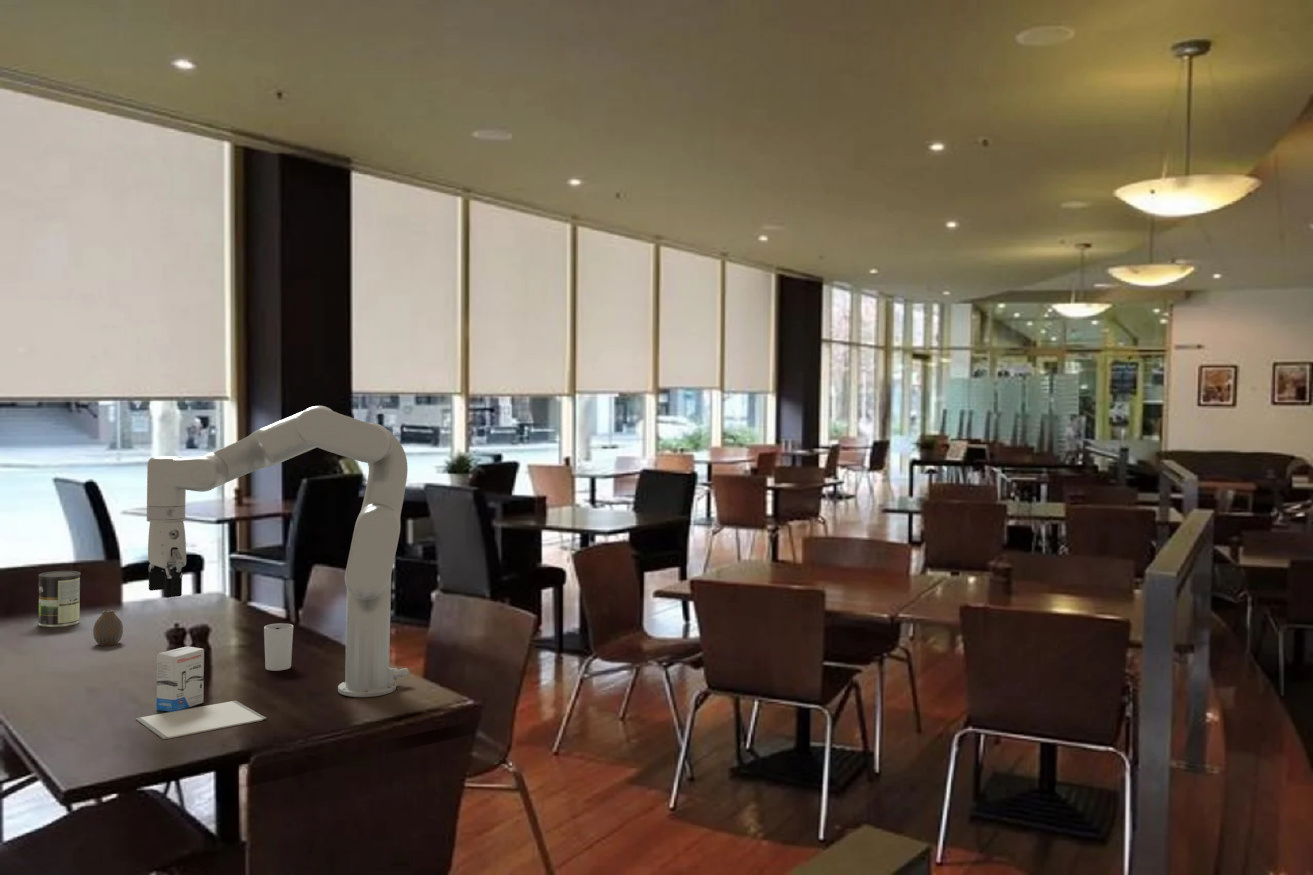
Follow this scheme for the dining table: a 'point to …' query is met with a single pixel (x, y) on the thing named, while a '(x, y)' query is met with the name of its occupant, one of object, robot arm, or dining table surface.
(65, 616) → the coffee can
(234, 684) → the dining table surface
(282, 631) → the white cup
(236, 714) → the mat
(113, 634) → the vase
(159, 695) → the ink box
